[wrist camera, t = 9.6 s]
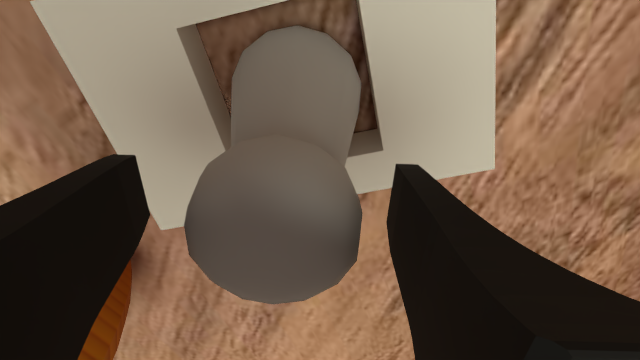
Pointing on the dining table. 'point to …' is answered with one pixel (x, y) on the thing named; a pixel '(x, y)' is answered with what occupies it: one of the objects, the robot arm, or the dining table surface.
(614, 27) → the dining table surface
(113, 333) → the carrot
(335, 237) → the salt shaker
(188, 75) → the socket block
